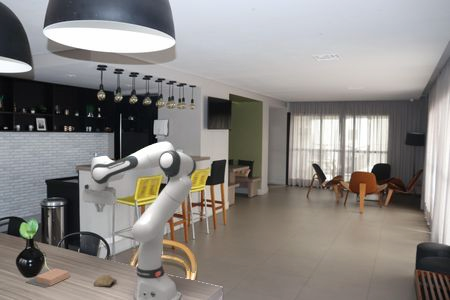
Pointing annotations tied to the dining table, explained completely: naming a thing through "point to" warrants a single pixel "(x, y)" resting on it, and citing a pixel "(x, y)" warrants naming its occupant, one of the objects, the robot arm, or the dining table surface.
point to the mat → (37, 283)
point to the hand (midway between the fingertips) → (99, 211)
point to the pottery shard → (104, 280)
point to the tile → (52, 276)
